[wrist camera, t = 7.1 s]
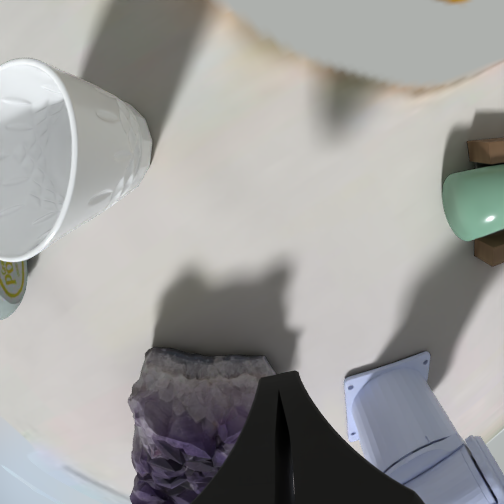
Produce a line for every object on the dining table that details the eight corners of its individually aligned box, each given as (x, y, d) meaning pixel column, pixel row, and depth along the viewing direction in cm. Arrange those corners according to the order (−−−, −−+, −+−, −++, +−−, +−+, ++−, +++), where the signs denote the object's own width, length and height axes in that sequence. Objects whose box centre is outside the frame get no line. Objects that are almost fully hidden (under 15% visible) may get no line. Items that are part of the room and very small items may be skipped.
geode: (229, 477, 28) (212, 547, 19) (136, 441, 29) (102, 505, 19) (312, 362, 22) (313, 474, 12) (166, 305, 22) (95, 394, 12)
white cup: (126, 68, 16) (33, 18, 6) (185, 166, 18) (118, 184, 8) (43, 141, 17) (-64, 151, 7) (93, 232, 19) (-2, 294, 10)
